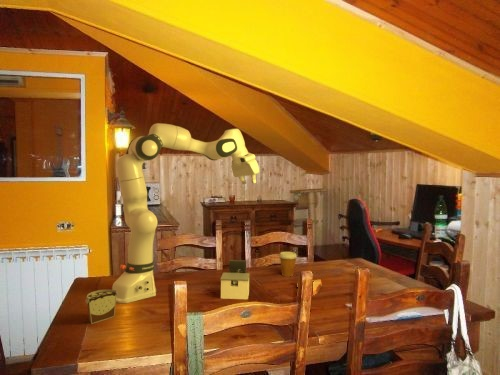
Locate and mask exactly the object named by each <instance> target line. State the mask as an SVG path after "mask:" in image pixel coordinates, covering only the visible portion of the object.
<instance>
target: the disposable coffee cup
mask: <svg viewBox="0 0 500 375" xmlns="http://www.w3.org/2000/svg"><path fill="white" fill-rule="evenodd" d="M279 260H280V268H281V275H282V276H283V277H286V278H287V277H290V276H291V277H293V276H294V274H295V268H296V262H297V261H296V260H297V253H296V252H294V251H281V252H280V253H279Z"/></svg>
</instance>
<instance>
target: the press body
mask: <svg viewBox="0 0 500 375" xmlns="http://www.w3.org/2000/svg"><path fill="white" fill-rule="evenodd" d="M233 281H237V284H235V285H234V284H233ZM249 294H250V272H246V273H229V272H222V275H221V277H220V299H224V300H225V299H226V300H228V299H231V300H249V296H250V295H249Z"/></svg>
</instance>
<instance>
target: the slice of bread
mask: <svg viewBox="0 0 500 375" xmlns="http://www.w3.org/2000/svg"><path fill="white" fill-rule="evenodd" d="M313 281H314V282H313V295H314V296H316V295H317V294H318V293H319V291H320V290H321V288H322V287H323V282H322V280H321V279H314V280H313ZM296 287H298V283H297V285H296ZM315 294H316V295H315ZM313 295H312V296H313ZM312 296H311V297H312Z"/></svg>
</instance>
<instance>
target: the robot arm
mask: <svg viewBox="0 0 500 375" xmlns="http://www.w3.org/2000/svg"><path fill="white" fill-rule="evenodd" d="M162 148H166V149H171V150H177V151H189V152H193V153H196V154H200V155H202V156H204V157H206V158H207V159H209V160H210V161H218V160H220V159H221V160H222V159H225V158H228V157H230V156H231V158H232V160H231V167H230V168H231V171H232V174H233V176H234V178H239V179H238V180H240V181H241V184H242V185H245V184H247V180H245V178H244V177H248V176H250V178H251V183H252V184H256V183H257V180H256V179H257V176H256V175H257V174H259V173H260V167H259V164H258V162H257V160H256V155H255V154H253V153H251V152H249V151H248V149H247V147H246V143H245V139H244V136H243V134H242V132H241V130H240V129H239V128H236V127H233V128H228V129H226V130H224V132H223V134H222V135H221V136H220V137H219V138H218V139H217V140H214V141H207V142H206V141H202V140H199V139H195V138H193V137H192V135H191V133H190V131H189V130H188V129H186V128H184V127H182V126H178V125H174V124H171V123H170V124H169V123H162V122H161V123H159V122H157V123H154V124H152V125H151V127H150V128H149V132H148V134H147V135H141V136H137V137H135V138H133V139H132V140H130V143H128V146H127V150H126V154H123V155H121V156H120V157H118V158H117V160H116V170H117V171H116V172H117V173H116V174H117V178H118V183H119V184H118V185H119V188H120V194H121V197H122V205H123V214H124V215H123V216H124V221H125V224H126V226H127V227H128V228H129V229H130V236H129V241H128V244H127V262H126V264H120V269H121V270H124V272H122V274H121V275H120V276H119V277H118V278H117V279H116V280H115V281H114V282H113V284H112V287H111V290H116V291H117V294H118V296H117V295H116V303H119V304H129V303H133V302H136V301H141V300H145V299H149V298H153V297H156V296H157V288H156V283H155V276H154V269H155V262H154V240H155V234H156V229H157V227H158V222H159V221H158V218H157V216H156V214H155V213H154V212H152V211H151V210H149V208H148V190H147V185H146V180H145V175H144V172H143V164H144V162H147V161H152V160H154V159H156V157H157V156H158V155H159V154H160V152H161V149H162Z"/></svg>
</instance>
